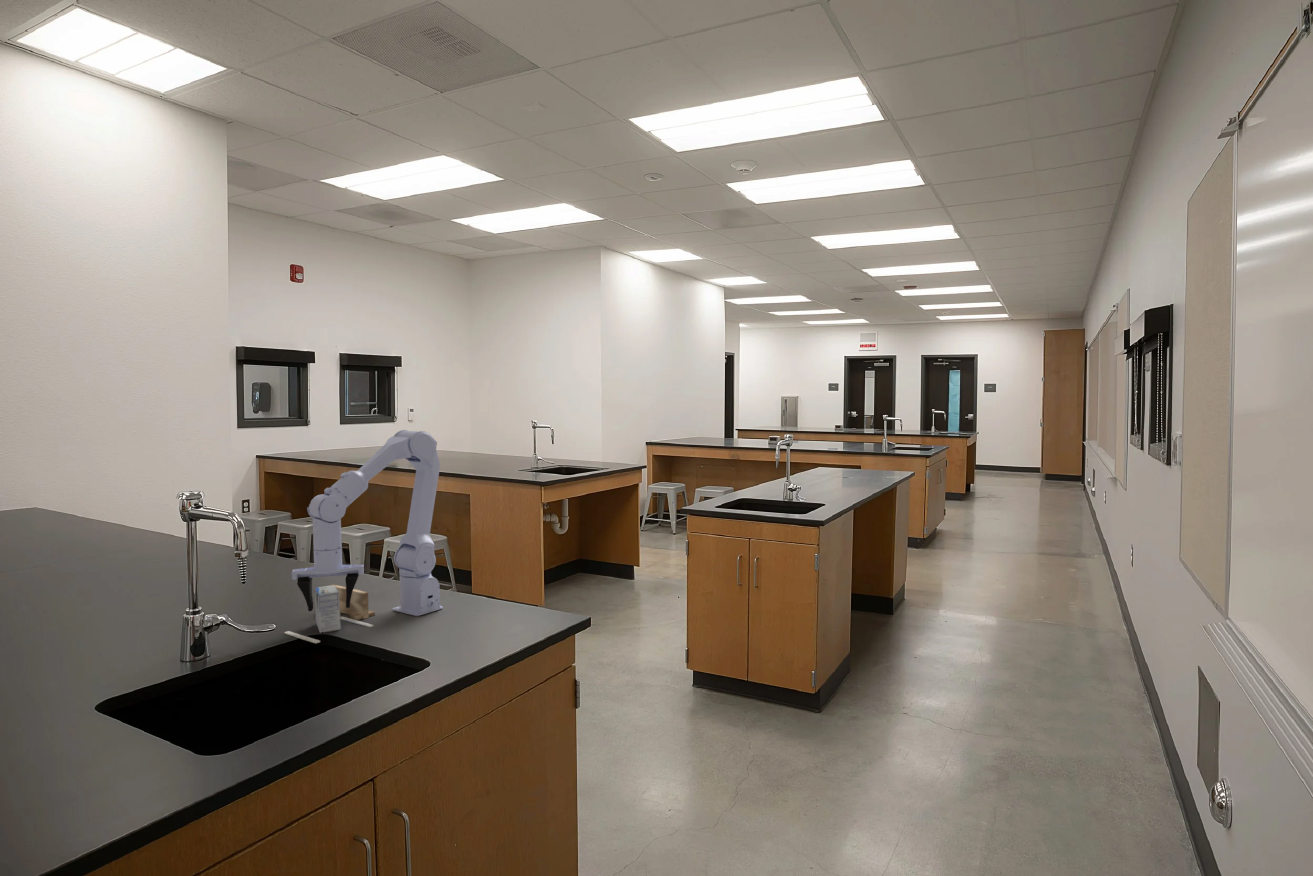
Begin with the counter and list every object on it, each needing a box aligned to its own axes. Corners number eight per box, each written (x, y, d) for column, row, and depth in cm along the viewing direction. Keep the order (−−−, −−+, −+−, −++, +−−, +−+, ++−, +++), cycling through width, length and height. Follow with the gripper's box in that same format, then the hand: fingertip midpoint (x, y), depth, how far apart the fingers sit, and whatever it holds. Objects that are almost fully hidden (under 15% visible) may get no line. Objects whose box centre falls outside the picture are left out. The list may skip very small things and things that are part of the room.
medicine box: (340, 630, 162) (339, 592, 162) (318, 633, 160) (317, 595, 159) (336, 621, 169) (335, 584, 168) (315, 624, 166) (314, 587, 166)
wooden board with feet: (375, 615, 173) (375, 590, 173) (356, 620, 169) (356, 595, 169) (340, 606, 181) (340, 582, 181) (322, 611, 177) (321, 587, 176)
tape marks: (373, 626, 165) (373, 625, 165) (315, 643, 153) (315, 642, 153) (342, 617, 171) (342, 616, 171) (284, 633, 160) (284, 632, 160)
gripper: (363, 542, 167) (365, 600, 168) (294, 547, 163) (296, 606, 163) (361, 548, 161) (363, 608, 161) (289, 553, 156) (291, 615, 157)
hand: (329, 608), depth 162 cm, fingers open, 7 cm apart
